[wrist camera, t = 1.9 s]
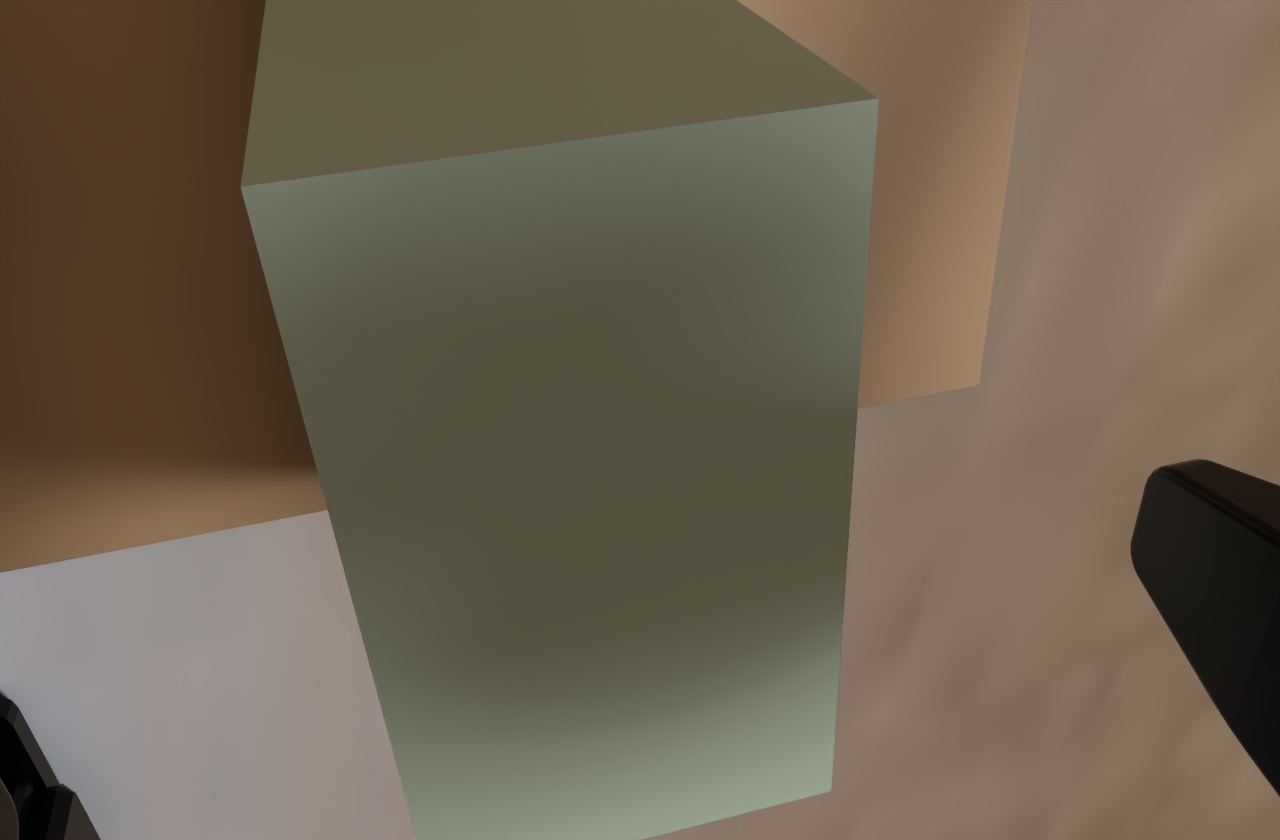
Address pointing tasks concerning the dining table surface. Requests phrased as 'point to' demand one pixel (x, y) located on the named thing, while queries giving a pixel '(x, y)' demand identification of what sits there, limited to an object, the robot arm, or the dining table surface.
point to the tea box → (575, 390)
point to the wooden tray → (235, 282)
